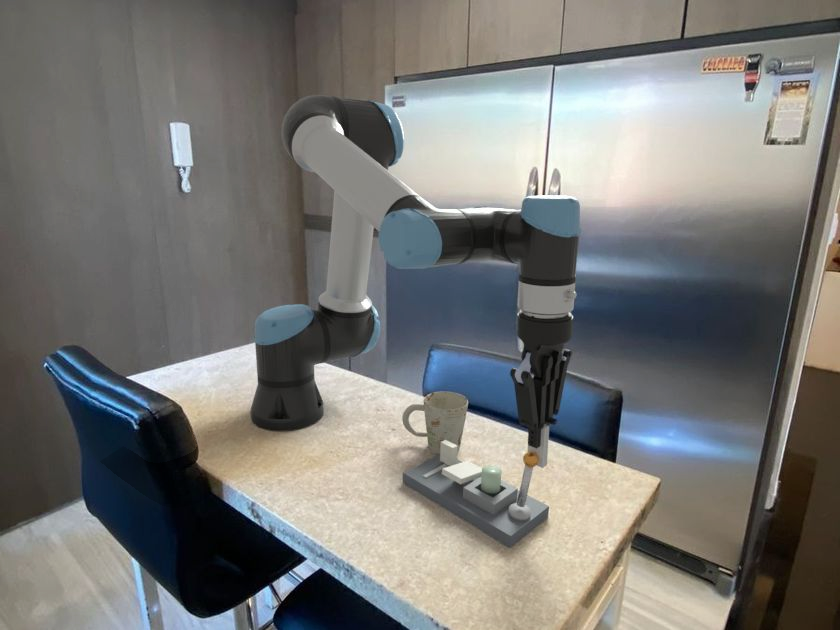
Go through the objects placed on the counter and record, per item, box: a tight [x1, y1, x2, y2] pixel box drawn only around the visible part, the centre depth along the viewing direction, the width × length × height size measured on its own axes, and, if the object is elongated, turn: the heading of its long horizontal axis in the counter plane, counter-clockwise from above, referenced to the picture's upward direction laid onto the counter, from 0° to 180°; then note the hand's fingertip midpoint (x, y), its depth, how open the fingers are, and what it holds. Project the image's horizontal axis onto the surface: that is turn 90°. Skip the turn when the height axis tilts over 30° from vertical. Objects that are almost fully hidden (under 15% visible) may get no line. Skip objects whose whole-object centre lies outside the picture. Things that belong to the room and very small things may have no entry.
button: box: [481, 465, 503, 494], centre depth 80 cm, size 3×3×3 cm
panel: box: [402, 454, 550, 549], centre depth 83 cm, size 22×10×4 cm, turn 45°
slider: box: [440, 440, 458, 466], centre depth 89 cm, size 3×1×4 cm, turn 45°
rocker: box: [442, 460, 483, 484], centre depth 84 cm, size 4×6×1 cm, turn 135°
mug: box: [401, 390, 469, 455], centre depth 99 cm, size 8×13×10 cm, turn 78°
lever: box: [517, 451, 538, 507], centre depth 76 cm, size 2×2×8 cm
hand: (536, 463), depth 78 cm, fingers closed
